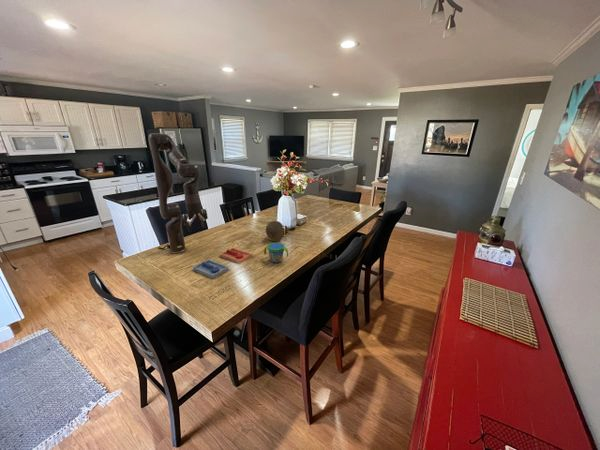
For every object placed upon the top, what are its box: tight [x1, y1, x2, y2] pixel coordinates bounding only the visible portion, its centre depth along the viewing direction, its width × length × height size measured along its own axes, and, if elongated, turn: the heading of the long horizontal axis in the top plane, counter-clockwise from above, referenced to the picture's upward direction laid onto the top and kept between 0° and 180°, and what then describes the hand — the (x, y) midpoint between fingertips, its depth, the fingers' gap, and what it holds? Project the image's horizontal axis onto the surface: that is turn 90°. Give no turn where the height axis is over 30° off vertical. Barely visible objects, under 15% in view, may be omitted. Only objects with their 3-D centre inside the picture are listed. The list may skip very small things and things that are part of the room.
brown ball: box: [265, 220, 285, 242], centre depth 179 cm, size 14×14×15 cm
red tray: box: [219, 247, 253, 264], centre depth 156 cm, size 17×11×2 cm, turn 58°
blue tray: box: [192, 259, 229, 279], centre depth 140 cm, size 17×11×2 cm, turn 58°
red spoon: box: [226, 248, 243, 259], centre depth 156 cm, size 13×5×3 cm, turn 58°
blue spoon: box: [201, 261, 220, 273], centre depth 140 cm, size 13×5×3 cm, turn 57°
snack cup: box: [263, 242, 289, 264], centre depth 150 cm, size 16×10×10 cm
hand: (197, 229), depth 135 cm, fingers open, 8 cm apart
